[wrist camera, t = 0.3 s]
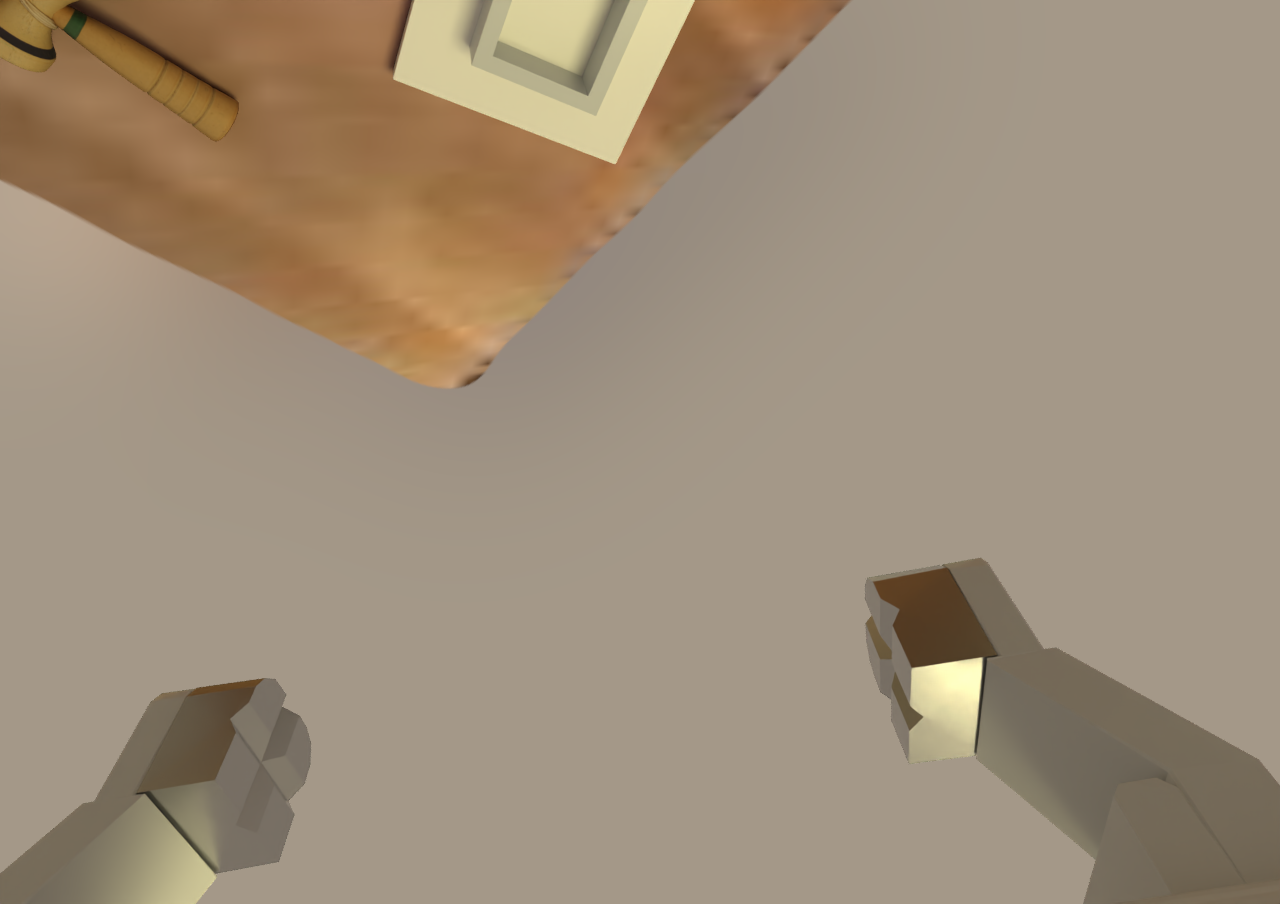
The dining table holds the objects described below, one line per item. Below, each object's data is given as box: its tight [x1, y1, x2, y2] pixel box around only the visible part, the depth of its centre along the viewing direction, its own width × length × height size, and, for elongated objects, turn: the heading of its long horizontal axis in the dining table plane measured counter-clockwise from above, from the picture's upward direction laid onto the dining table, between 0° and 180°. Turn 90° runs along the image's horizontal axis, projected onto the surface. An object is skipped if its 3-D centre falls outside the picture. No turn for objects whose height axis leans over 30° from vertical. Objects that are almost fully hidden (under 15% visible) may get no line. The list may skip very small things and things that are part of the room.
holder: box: [393, 0, 695, 164], centre depth 49 cm, size 16×16×4 cm
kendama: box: [0, 0, 239, 141], centre depth 45 cm, size 8×6×18 cm
